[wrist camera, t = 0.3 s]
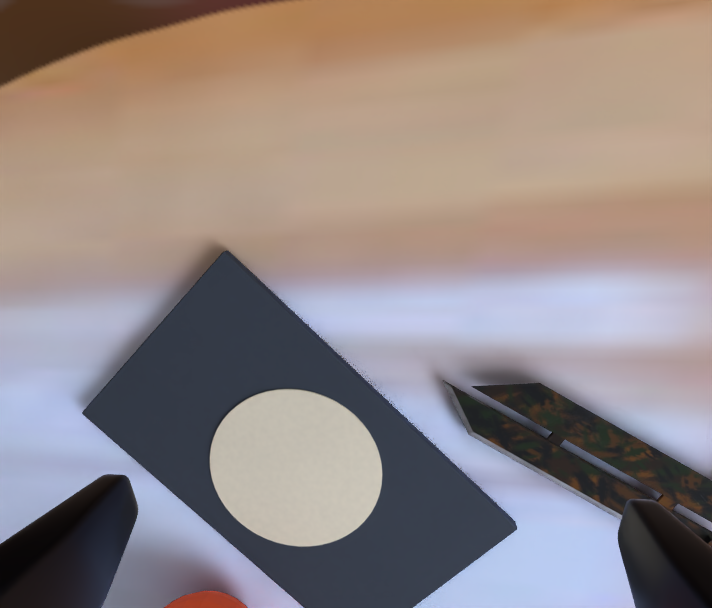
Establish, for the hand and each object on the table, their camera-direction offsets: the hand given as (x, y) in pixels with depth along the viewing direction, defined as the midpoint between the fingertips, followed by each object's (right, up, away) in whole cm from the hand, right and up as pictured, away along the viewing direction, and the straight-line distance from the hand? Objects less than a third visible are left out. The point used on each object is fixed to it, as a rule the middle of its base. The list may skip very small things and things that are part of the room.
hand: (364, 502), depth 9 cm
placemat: (-3, -5, +17) cm, 18 cm away
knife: (+15, -6, +16) cm, 23 cm away
